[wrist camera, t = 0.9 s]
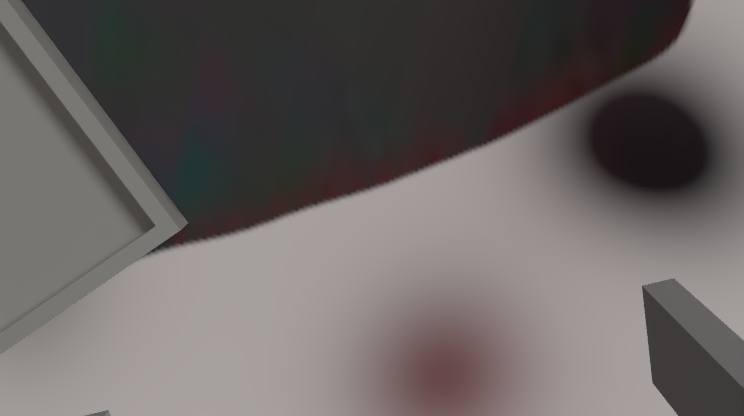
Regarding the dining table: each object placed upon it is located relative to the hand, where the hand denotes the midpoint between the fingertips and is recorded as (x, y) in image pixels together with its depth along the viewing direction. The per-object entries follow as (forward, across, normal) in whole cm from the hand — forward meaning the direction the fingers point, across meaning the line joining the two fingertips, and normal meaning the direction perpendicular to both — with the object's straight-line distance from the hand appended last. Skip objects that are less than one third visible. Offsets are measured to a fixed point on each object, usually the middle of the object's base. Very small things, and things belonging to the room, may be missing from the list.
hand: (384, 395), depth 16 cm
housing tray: (+26, -22, +3) cm, 34 cm away
